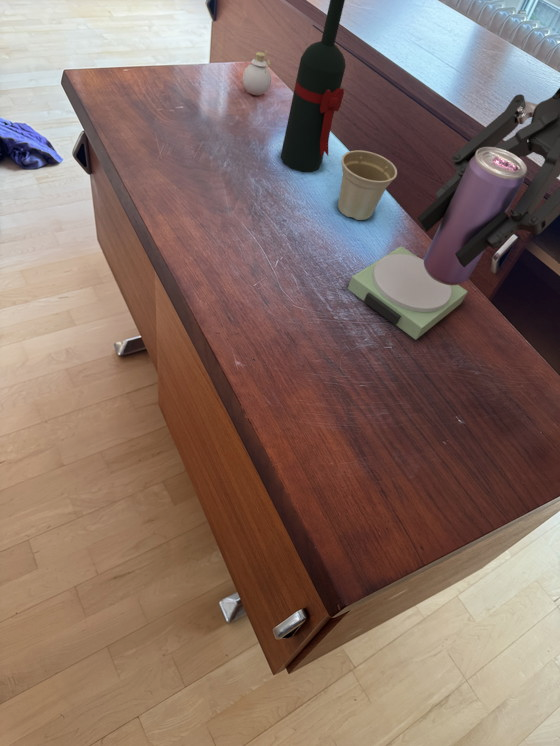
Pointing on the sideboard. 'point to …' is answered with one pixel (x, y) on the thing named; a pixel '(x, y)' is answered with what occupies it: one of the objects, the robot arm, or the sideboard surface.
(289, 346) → the sideboard surface
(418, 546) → the sideboard surface
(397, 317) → the scale
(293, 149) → the wine bottle
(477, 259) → the beverage can
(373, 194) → the flower pot
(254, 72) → the ornament
